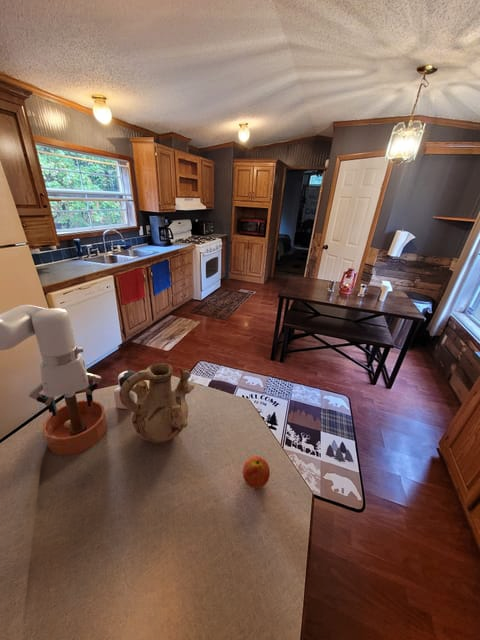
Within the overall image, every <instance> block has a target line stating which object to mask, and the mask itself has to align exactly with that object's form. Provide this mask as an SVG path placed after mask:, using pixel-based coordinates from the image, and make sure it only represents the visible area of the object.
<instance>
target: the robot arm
mask: <svg viewBox="0 0 480 640" xmlns="http://www.w3.org/2000/svg"><path fill="white" fill-rule="evenodd" d="M33 336H35V337H36V341H37V345H38V349H39V352H40V356H41V359H42V360H41V361H40V364H39V365H40V366H39V368H40V369H39V371H40V379H41V382H40V383H39V384H38V385H37V386H36V387H34V388H33V389H32V390H31V391H30V392H29V393H28V397H29V398H31V399H33V400H36V402H37V403H38V402H39V403H42V404H44V405H45V406H46V407H47V410H48V412H49V413H50V414H53V416H56V413H57V409H58V408H57V403H56V401H55V398H57V397H60V396H64V395H65V394H69V393H73V392H75V393H76V392H80V391H82V392H84V393H85V398H86V400H87V403H88V406H91V402H92V401H94V397H93V392H94V391H95V390H96V389H97V388H98V386H99V384H101V381H102V375H99V374H94V373H90V372H88V370H87V366H86V363H85V360H84V358H83V356H82V354H81V353H84V348H83V346H82V347H79V346H77V344H76V341H75V335H74V331H73V326H72V319H71V316H70V313H69V312H68V310H66V309H63V308H57V307H55V308H54V307H53V308H46V307H41V306H37V305H32V304H21V305H18V306H15V307H13V308H11V309H9V310H6V311H4V312H2V313H0V351H8V350H11V349H13V348H15V347H16V346H18V345H19V344H21V343H23V342H24V341H26V340H27V339H29V338H31V337H33ZM89 380H90V381H92V383H91V384H90V383H89ZM42 391H43V393H44V394H42Z"/></svg>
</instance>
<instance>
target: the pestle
mask: <svg viewBox="0 0 480 640" xmlns="http://www.w3.org/2000/svg"><path fill="white" fill-rule="evenodd" d="M63 396H64V397H63V398H64V402H65V405H66V406H67V410H68V414H69V418H70V422H71V426H70V427H69V433H70V436H75V435H78V434H80V433H82V432H85V431H87V427H86V423H85V422H82V421H81V417H80V412H79V408H78V403H77V401H78V399H77V395H76V392H73V393H69V394H64V395H63Z"/></svg>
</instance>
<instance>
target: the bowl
mask: <svg viewBox="0 0 480 640" xmlns="http://www.w3.org/2000/svg"><path fill="white" fill-rule="evenodd" d="M77 403H78V408H79V412H80V417H81V421H82V422H85V423H86V427H87V431H85V432H82V433H80V434H78V435H75V436H70V433H69V428H65V427H64V423H65V422H66V421H67V420H70V418H69V414H68V410H67V406H66V404H65V405H63V406H61V407H59V408H57V413H56V416H53V414H52V413H50V414H49V416H47V418H46V419H45V421H44V422H43V425H42V434H43V437H44V439H45V442H46V445H47V448H48V449H49V451H50V452H51V453H53V454H55V455H60V456H70V455H75V454H79V453H81V452H83V451H86V450H88V449H90V448H91V447H93V446H94V445H96V444H97V443H98V442H100V440H101V439H102V438H103V437H104V435H105V434H106V431H107V428H108V423H107V417H106V412H105V406H104V405H103V404H102V403H101V402H99V401H96V400H93V401H92V402H91V406H88V403H87V399H83V400H77Z"/></svg>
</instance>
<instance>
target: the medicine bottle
mask: <svg viewBox="0 0 480 640" xmlns="http://www.w3.org/2000/svg"><path fill="white" fill-rule="evenodd" d="M136 373H137V372H136V371H135V370H125V371H122V372H121V373H119V375H118V376H117V382H118V385H117V387H116V388H115V389H114V390H113V397H114V401H115V402H114V403H115V407H116V408H117V409H124V410H128V409H127V408H126V407H125V406H124V405H123V404H122V402H121V400H120V396H119V393H120V389H121V387H122V385H123V383H124V382H125V381H126V380H127V379H128V378H129V377H131V376H132V375H134V374H136ZM135 385H136V384H135ZM130 397H131V398H132V400H133V401H134V402H135V403H136V402H137V394H136V393H135V392H133V391H130Z"/></svg>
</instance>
